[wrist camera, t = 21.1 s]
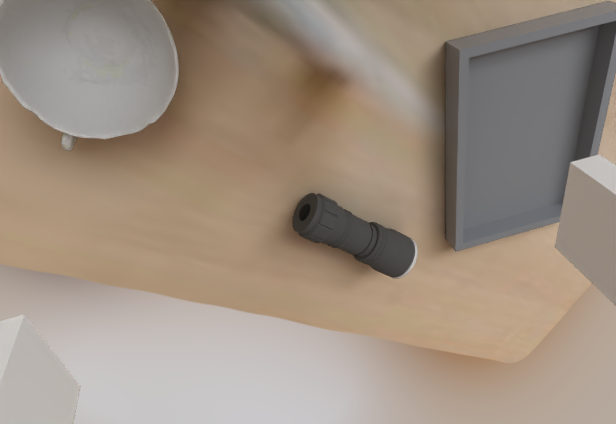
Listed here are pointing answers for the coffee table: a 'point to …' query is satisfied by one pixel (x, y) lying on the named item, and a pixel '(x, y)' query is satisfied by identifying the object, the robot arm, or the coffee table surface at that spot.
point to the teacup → (88, 64)
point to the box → (523, 119)
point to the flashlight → (355, 236)
